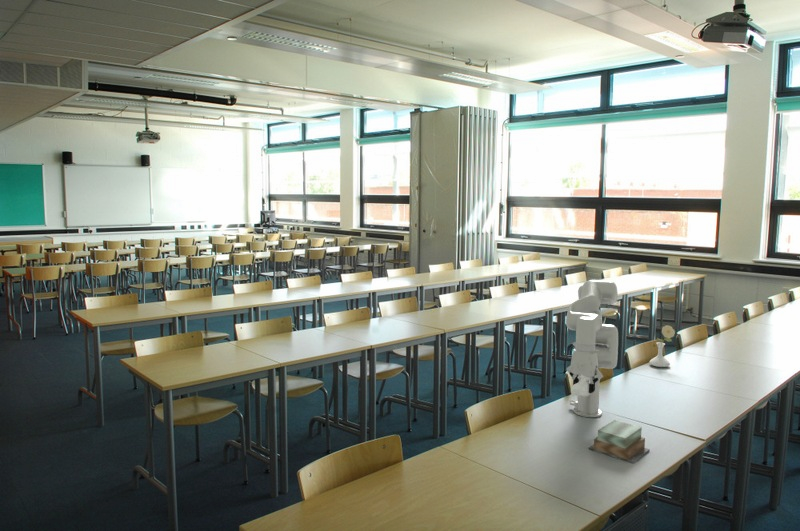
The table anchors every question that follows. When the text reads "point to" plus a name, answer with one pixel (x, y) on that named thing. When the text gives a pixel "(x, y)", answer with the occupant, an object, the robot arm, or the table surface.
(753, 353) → the table surface
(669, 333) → the flower in vase
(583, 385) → the bust
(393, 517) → the table surface
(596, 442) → the sage layered slab
